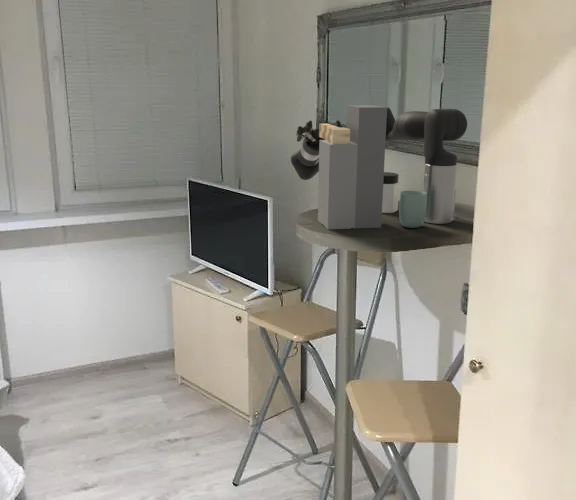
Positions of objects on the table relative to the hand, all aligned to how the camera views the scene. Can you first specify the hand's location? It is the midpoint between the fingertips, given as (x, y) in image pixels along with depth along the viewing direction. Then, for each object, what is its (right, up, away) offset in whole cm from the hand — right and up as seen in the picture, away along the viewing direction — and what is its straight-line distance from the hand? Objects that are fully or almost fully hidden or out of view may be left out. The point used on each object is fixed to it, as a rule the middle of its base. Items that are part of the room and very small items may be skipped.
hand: (324, 123), depth 196 cm
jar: (+20, -26, +15) cm, 36 cm away
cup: (+25, -32, -6) cm, 41 cm away
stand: (+7, -30, -4) cm, 31 cm away
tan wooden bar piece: (+2, -6, -5) cm, 8 cm away
